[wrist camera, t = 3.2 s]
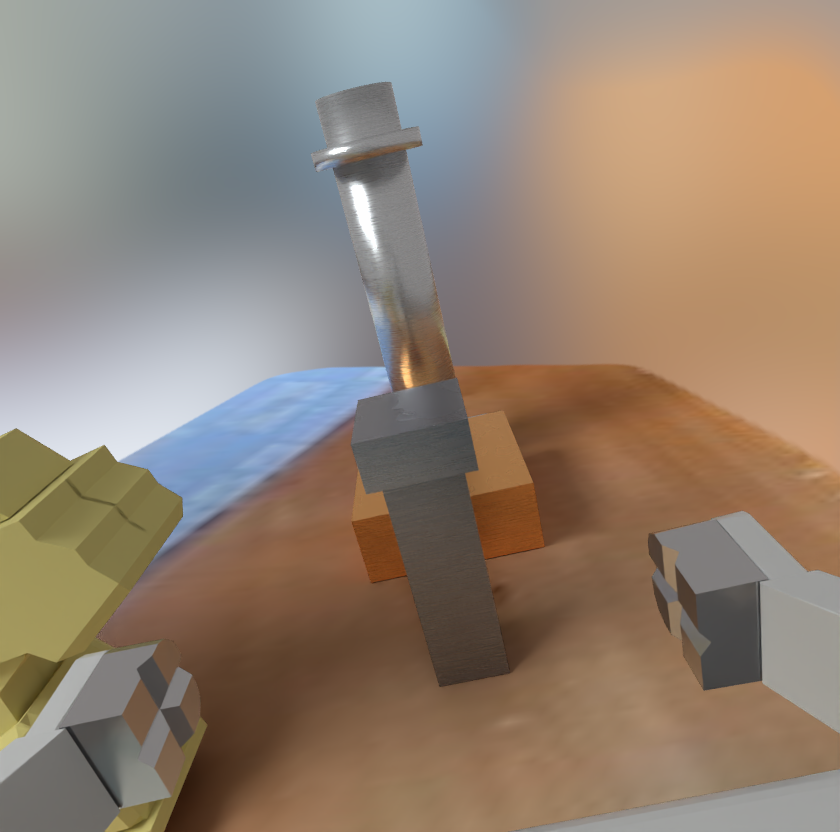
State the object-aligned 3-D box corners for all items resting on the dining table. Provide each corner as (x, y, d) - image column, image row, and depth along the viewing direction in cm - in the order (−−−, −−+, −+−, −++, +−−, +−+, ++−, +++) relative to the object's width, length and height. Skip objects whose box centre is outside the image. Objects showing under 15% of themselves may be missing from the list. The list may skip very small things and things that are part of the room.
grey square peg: (524, 680, 25) (467, 418, 20) (428, 698, 25) (350, 444, 20) (507, 612, 28) (457, 377, 24) (424, 629, 29) (358, 400, 24)
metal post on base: (544, 546, 32) (453, 30, 23) (371, 582, 33) (212, 93, 23) (498, 422, 47) (431, 80, 38) (379, 449, 48) (285, 117, 38)
